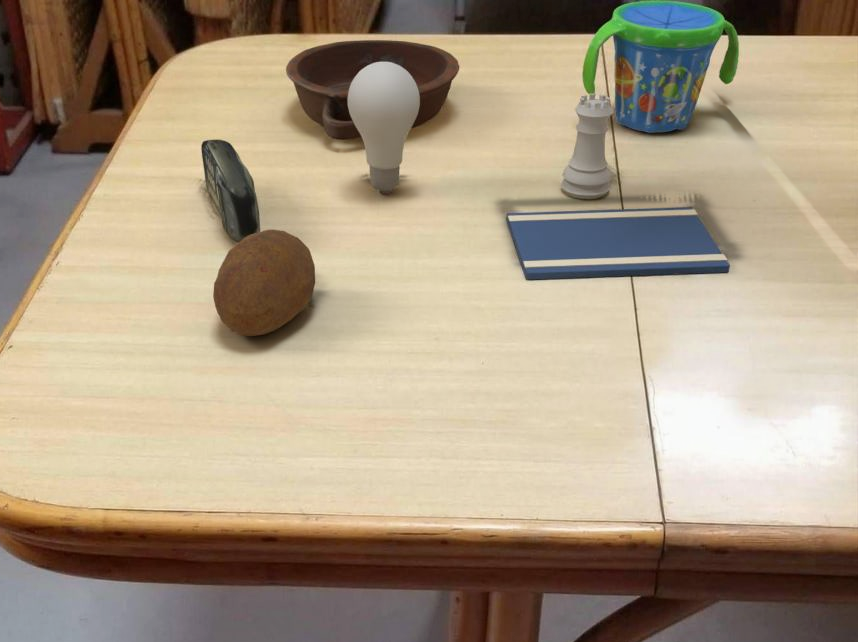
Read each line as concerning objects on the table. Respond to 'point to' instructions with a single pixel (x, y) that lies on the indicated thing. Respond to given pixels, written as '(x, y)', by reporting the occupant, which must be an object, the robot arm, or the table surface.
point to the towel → (614, 243)
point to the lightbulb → (383, 118)
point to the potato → (264, 282)
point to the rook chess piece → (589, 151)
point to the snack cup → (661, 61)
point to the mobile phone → (231, 188)
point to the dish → (341, 61)
